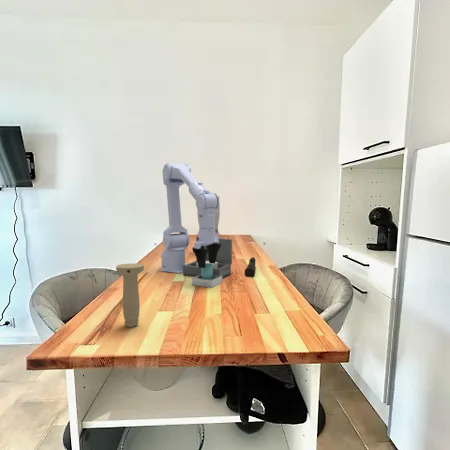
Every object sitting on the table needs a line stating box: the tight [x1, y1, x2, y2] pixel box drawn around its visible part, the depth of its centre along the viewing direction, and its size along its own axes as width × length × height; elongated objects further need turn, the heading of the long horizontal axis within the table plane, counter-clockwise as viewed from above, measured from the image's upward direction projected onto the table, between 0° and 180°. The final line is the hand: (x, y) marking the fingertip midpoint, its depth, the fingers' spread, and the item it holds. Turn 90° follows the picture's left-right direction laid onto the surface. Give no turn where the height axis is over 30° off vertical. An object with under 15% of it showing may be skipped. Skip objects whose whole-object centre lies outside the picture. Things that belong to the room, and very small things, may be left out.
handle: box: [115, 262, 145, 328], centre depth 79 cm, size 5×6×15 cm
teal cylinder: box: [201, 263, 213, 280], centre depth 115 cm, size 4×4×7 cm
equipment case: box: [182, 236, 233, 280], centre depth 127 cm, size 16×11×14 cm
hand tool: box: [244, 256, 256, 278], centre depth 134 cm, size 19×4×5 cm, turn 168°
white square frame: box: [191, 274, 223, 289], centre depth 115 cm, size 8×8×2 cm
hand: (207, 265), depth 115 cm, fingers open, 7 cm apart
